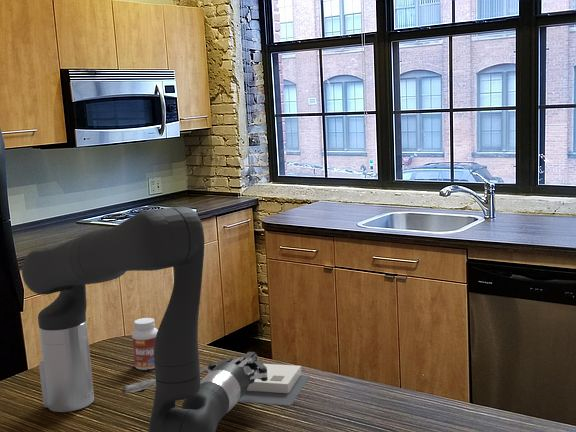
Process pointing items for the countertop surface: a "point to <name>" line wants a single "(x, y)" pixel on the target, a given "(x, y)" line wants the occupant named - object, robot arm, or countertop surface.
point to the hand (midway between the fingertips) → (252, 356)
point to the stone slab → (145, 384)
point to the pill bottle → (144, 343)
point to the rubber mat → (275, 394)
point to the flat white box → (277, 379)
